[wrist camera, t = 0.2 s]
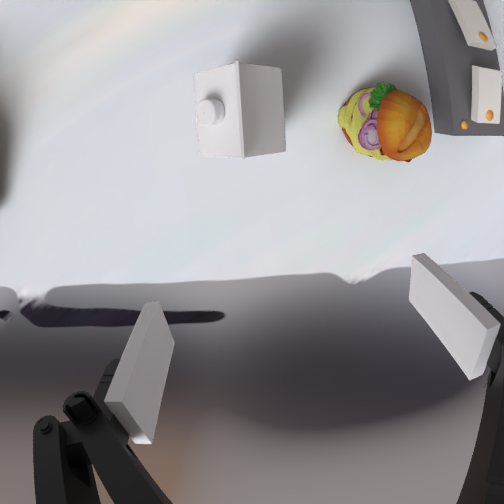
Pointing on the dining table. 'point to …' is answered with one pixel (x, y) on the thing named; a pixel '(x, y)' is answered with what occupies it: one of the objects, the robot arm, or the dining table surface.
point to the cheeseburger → (386, 123)
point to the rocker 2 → (486, 95)
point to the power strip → (453, 69)
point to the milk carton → (239, 111)
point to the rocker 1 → (473, 24)
